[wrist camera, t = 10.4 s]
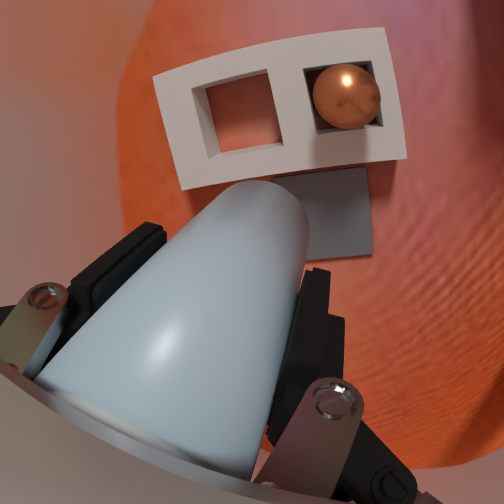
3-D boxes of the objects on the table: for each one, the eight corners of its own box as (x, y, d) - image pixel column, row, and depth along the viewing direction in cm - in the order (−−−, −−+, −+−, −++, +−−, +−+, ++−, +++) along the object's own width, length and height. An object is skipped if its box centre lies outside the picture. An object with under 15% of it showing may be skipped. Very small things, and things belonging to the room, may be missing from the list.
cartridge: (322, 195, 13) (260, 500, 3) (295, 286, 15) (222, 541, 5) (215, 169, 13) (-21, 355, 3) (204, 260, 16) (55, 466, 6)
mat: (373, 251, 28) (373, 253, 28) (288, 259, 31) (288, 261, 30) (365, 166, 25) (365, 167, 25) (272, 178, 27) (271, 179, 27)
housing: (398, 151, 24) (407, 158, 21) (196, 180, 29) (181, 190, 26) (377, 35, 20) (383, 27, 17) (169, 77, 25) (152, 76, 22)
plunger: (372, 119, 23) (385, 126, 18) (321, 125, 24) (320, 133, 19) (363, 69, 21) (373, 60, 16) (310, 75, 22) (306, 68, 17)
